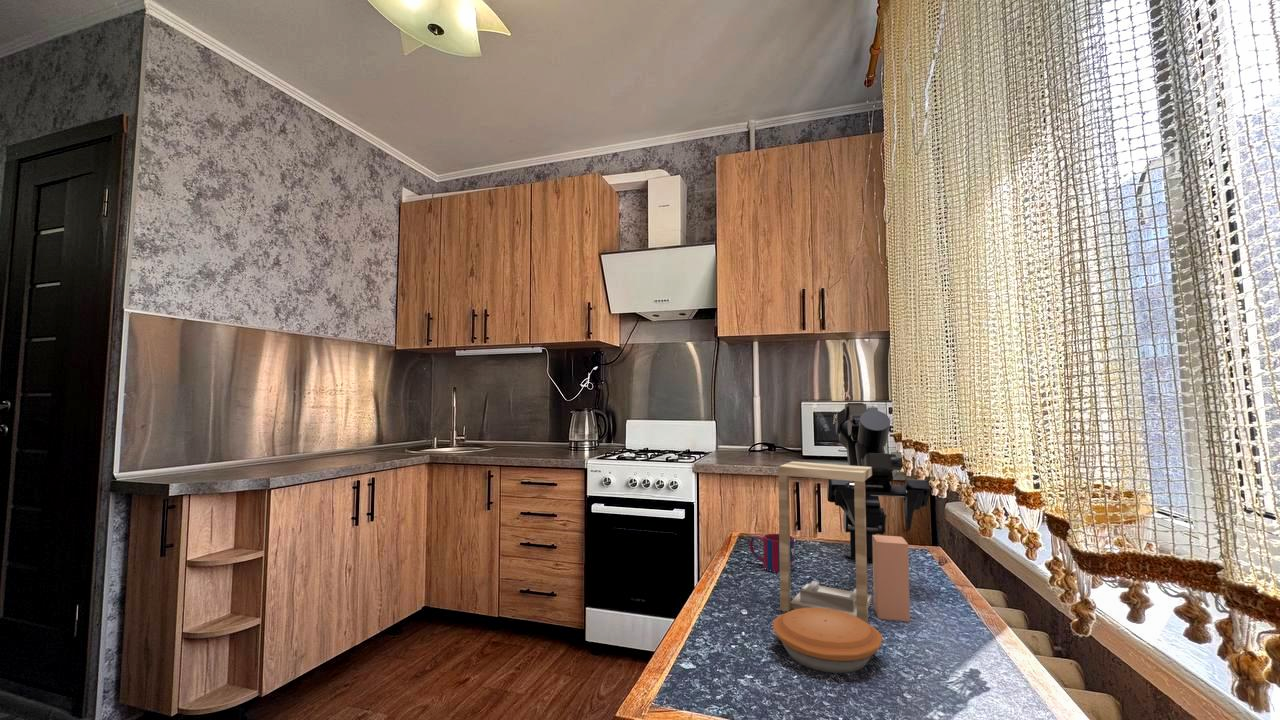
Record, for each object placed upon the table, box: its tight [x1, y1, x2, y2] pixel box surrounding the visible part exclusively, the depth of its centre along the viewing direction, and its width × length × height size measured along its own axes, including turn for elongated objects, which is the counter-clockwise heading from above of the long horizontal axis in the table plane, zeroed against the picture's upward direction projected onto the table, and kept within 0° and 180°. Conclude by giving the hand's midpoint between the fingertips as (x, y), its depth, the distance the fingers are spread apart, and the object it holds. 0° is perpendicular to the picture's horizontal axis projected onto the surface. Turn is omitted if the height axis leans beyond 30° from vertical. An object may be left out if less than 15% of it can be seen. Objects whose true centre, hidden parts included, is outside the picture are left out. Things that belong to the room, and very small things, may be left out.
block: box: [872, 534, 911, 623], centre depth 97 cm, size 5×5×13 cm
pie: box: [772, 607, 883, 674], centre depth 82 cm, size 15×16×5 cm
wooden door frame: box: [777, 461, 873, 624], centre depth 101 cm, size 14×14×26 cm
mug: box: [749, 533, 796, 573], centre depth 123 cm, size 7×10×7 cm
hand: (882, 528), depth 104 cm, fingers open, 9 cm apart
